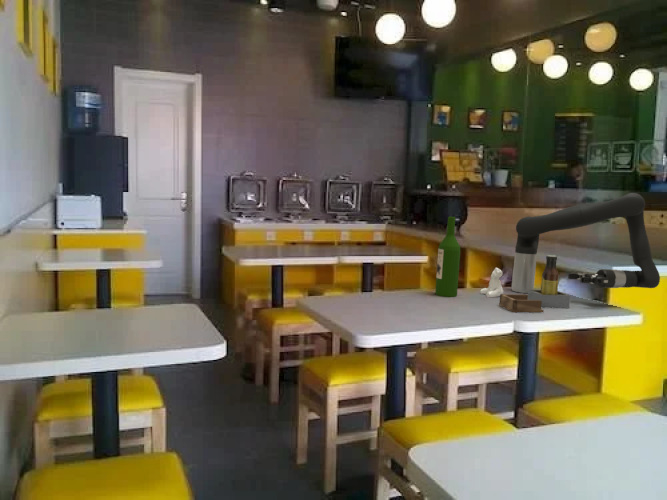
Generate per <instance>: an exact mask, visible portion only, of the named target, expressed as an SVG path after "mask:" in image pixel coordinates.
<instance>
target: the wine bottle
mask: <svg viewBox="0 0 667 500" xmlns="http://www.w3.org/2000/svg"><path fill="white" fill-rule="evenodd" d="M455 224H456V216H448V217H447V226H446V235H445V237H444V238H443V239H442V241H441V242H440V243H439V244H438V245H439V246H438V248H437V250H438V251H437V264H436V276H435V277H436V279H435V289H434V290H435V292H434V293H435V295H436V296H438V297H443V298H444V297H446V298H455V297H457V296H458V287H459V285H458V284H459V274H460V261H461V259H460V258H461V247H460V246H461V245H460V244H459V242H458V240H457V238H456V236H455V231H456V230H455V229H456V225H455Z"/></svg>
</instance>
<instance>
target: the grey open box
mask: <svg viewBox="0 0 667 500" xmlns="http://www.w3.org/2000/svg"><path fill="white" fill-rule="evenodd" d="M527 295H528V299H527V300H541V301H542V304H541V307H551V308H550V309H569V308H570V303H571V295H570V294H567V293H565V292H562V291H560V290H558V291H557V295H543V294H541V289H534V290H528V293H527ZM552 307H553V308H552Z"/></svg>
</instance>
